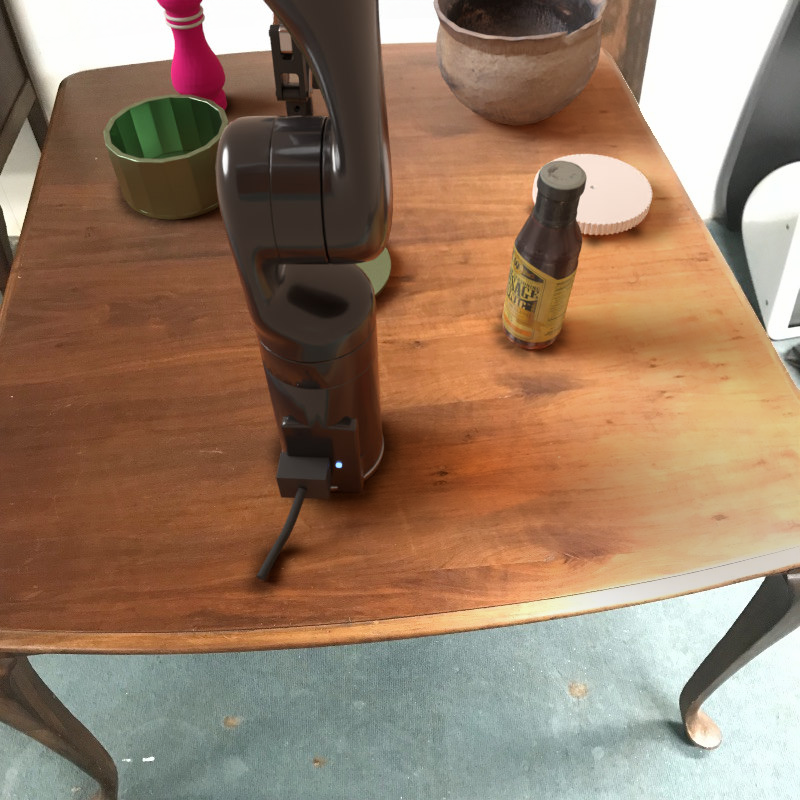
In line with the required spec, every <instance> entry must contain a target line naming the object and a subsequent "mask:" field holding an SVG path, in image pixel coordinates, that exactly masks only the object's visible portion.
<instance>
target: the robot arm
mask: <svg viewBox="0 0 800 800" xmlns="http://www.w3.org/2000/svg"><path fill="white" fill-rule="evenodd" d="M262 1H263V2H264V4H266V6H267V7H268V8H269V9H270V10H271V12H272V24H270V25H269V29H268V37H269V41H270V49H271V59H272V68H273V77H274V86H275V97H276V100H277V102H285V109H286V115H252V116H251V115H250V116H242V117H237V118H235V119H233V120H231V121H230V122H229V124H228V125H227V126H226V128H225V129H224V131H223V133H222V135H221V137H220V140H219V143H218V147H217V152H216V162H215V176H216V189H217V195H218V201H219V207H218V208H219V213H220V217H221V220H222V224H223V228H224V232H225V235H226V238H227V244H228V246H229V248H230V252H231V255H232V258H233V262H234V265H235V268H236V271H237V274H238V277H239V280H240V281H239V282H240V284H241V287H242V291H243V295H244V299H245V302H246V307H247V310H248V313H249V317H250V318H251V321H252V323H253V326H254V330H255V334H256V339H257V343H258V347H259V351H260V357H261V361H262V366H263V370H264V375H265V379H266V384H267V389H268V393H269V397H270V402H271V406H272V411H273V416H274V419H275V424H276V428H277V429H276V430H277V433H278V437H279V441H280V442H279V443H280V447H281V452H280V455H279V459H278V465H277V470H276V476H275V479H276V483H277V487H278V491H279V496H280V497H281V498H291V499H293V501H292V504H291V507H290V510H289V512H288V515H287V518H286V521H285V523H284V525H283V527H282V530H281V532H280V533H279V535H278V537H277V538H276V540H275V541H274V543H273V545H272V547H271V549H270V551H269V552H268V554H267V556H266V558H265V560H264V562H263V564H262V565H261V567H260V569H259V570H258V572H257V574H256V578H257V579H258V580H260V581H262V582H264V581H266V579H267V578H268V575H270V572H271V570H272V568H273V567H274V564H275V562H276V561H277V559H278V557H279V555H280V553H281V551H282V549H283V548H284V546H285V545H286V543H287V541H288V539H290V536H291V534H292V532H293V529H294V527H295V525H296V522H297V520H298V517H299V515H300V512H301V509H302V506H303V503H304V501H305V499H307V500H308V499H311V500H330V496H331V492H344V493H362V492H363V489H364V482H365V481H367V480H368V479H369V478H370V477H372V475H374V473H375V472H376V471H377V470H378V468H379V467H380V465H381V463H382V460H383V457H384V452H385V440H384V434H383V421H382V403H381V385H380V367H379V364H380V363H379V349H378V326H377V325H378V324H377V300H376V299H377V298H375V293H374V289H373V286H372V284H371V281H370V279H369V278H368V276H367V275H366V274H365V272H364V271H363V270H362V269H361V268H360V267H359V266H357V265H356V264H357V263H364V262H368V261H372V260H374V259H376V258H377V257H378V256H379V255H380V254H381V253H382V252H383V250H384V249H385V247H387V245H388V242H389V239H390V235H391V231H392V225H393V215H394V185H393V169H392V167H393V166H392V154H391V143H390V130H389V121H388V120H389V119H388V109H387V98H386V85H385V74H384V72H385V71H384V62H383V51H382V50H383V49H382V40H381V39H382V37H381V24H380V2H379V1H380V0H262ZM290 74H291V75H296V76H297V77H298V82H297V81H296V82H293V81H292V82H291V81H290ZM314 90H319V91H320V93H321V96H322V99H323V101H324V104H325V107H326V110H327V114H328V116H327V115H314V114H315V113H314V103H313V94H314Z"/></svg>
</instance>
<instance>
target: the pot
mask: <svg viewBox="0 0 800 800" xmlns="http://www.w3.org/2000/svg"><path fill="white" fill-rule="evenodd" d="M229 123H230V122H229V120H228V116H227V114H226V111H225V110H224V109H223V108H221V107H220V106H218V105H217V104H216V103H214V102H213V101H212V100H209V99H205V98H201V97H198V96H194V95H181V94H173V93H171V94H164V95H158V96H153V97H152V96H151V97H148V98H147V97H146V98H144V99H142V100H140V101H137V102H135V103H132V104H130V105H126V106H125V107H123V108H122V109H121V110H119V111H118V112H117V113H116V114H114V115H113V116H112V117H111V118H110V119H109V121H108V122H107V124H106V126H105V127H104V130H103V139H104V144H105V147H106V151H107V154H108V156H109V159H110V162H111V166H112V168H113V171H114V173H115V176H116V179H117V182H118V185H119V188H120V191H121V193H122V196H123V199H124V200H125V202H126V203H127V204H128V206H129V207H130V208H131V209H132V210H134V211H135V212H137V214H141V215H143V216H145V217H148V218H150V219H151V218H152V219H157V220H165V221H166V220H167V221H168V220H169V221H170V220H172V221H173V220H175V221H176V220H185V219H190V218H195V217H199V216H202V215H204V214H207V213H209V212H212V211H214V210H215V209H218V208H220V207H219V201H218V195H217V189H216V176H215V162H216V152H217V147H218V143H219V140H220V137H221V135H222V133H223V131H224V129H225V128H226V126H227V125H228V124H229Z"/></svg>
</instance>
